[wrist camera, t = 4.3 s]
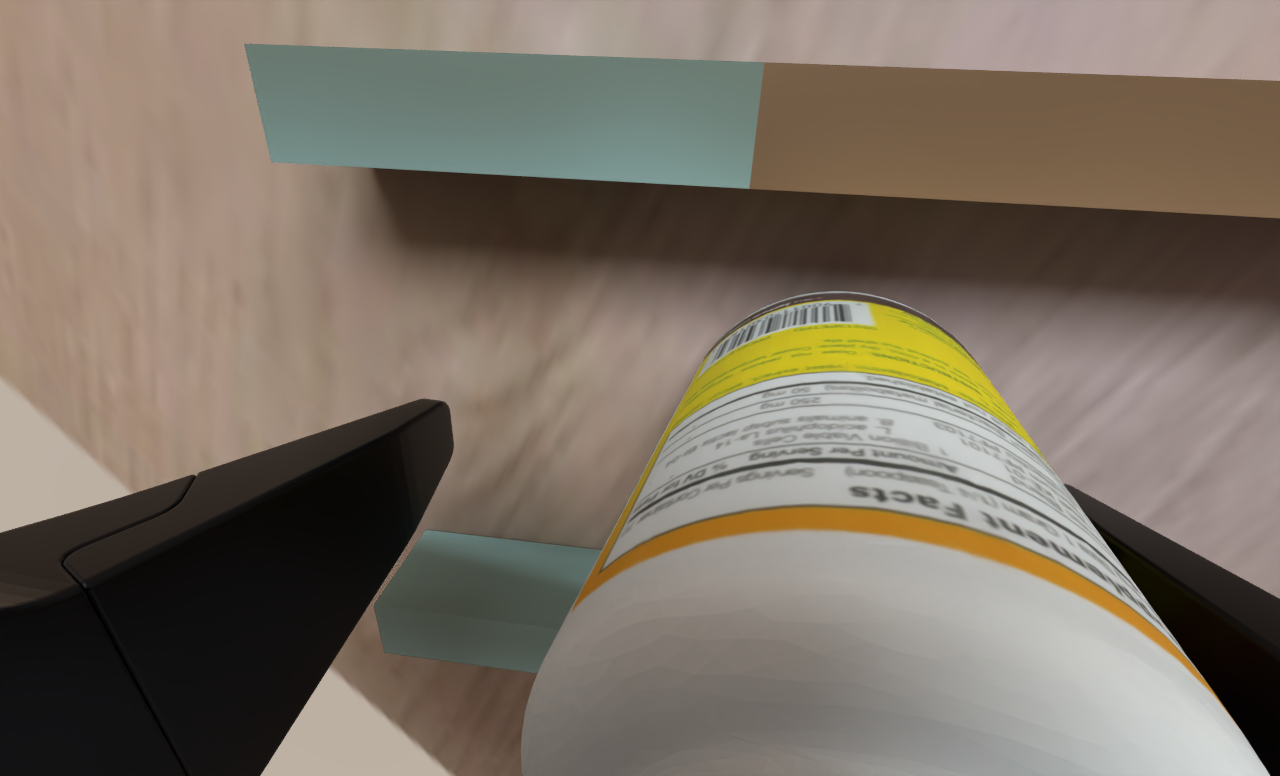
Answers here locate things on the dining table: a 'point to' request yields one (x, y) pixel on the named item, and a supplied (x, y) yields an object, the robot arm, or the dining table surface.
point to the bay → (737, 158)
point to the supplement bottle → (862, 585)
